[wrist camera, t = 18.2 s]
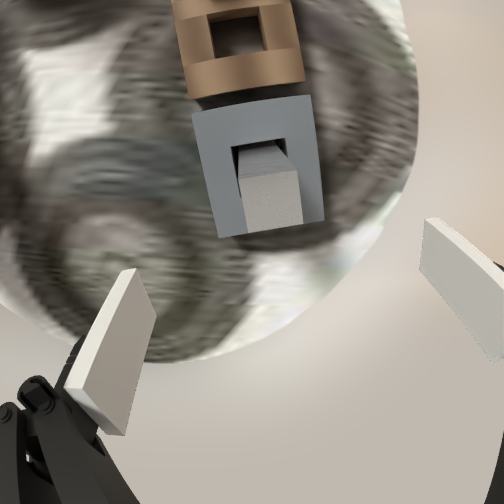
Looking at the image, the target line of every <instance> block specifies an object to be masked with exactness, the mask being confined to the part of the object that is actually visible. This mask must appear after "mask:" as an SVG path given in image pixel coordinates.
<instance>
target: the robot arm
mask: <svg viewBox="0 0 504 504" xmlns="http://www.w3.org/2000/svg"><path fill="white" fill-rule="evenodd" d="M419 270H420V271H421V272H422V274H423V275H424V276H425V277H426V278H427V279H428V281H429V282H430V283H431V284H432V285H433V286H434V288H435V289H436V290H437V291H438V293H439V294H440V295H441V296H442V297H443V299H444V300H445V301H446V302H447V304H448V305H449V306H450V307H451V309H452V310H453V311H454V312H455V314H456V315H457V316H458V317H459V319H460V320H461V321H462V323H463V324H464V325H465V327H466V328H467V329H468V331H469V332H470V333H471V335H472V336H473V337H474V339H475V340H476V341H477V343H478V344H479V346H480V347H481V349H482V350H483V351H484V353H485V354H486V356H487V357H488V359H489V360H490V362H491V363H492V364H493V363H495V362H497V361H499V360H501V359H502V358H504V267H503V266H501V265H499V264H497V263H495V262H492V261H491V260H490V259H489V258H487V257H486V256H485V255H484V254H483V253H482V252H481V251H479V250H478V249H477V248H476V247H475V246H473V245H472V244H471V243H470V242H469V241H467V240H466V239H465V238H464V237H462V236H461V235H460V234H459V233H457V232H456V231H455V230H454V229H452V228H451V227H450V226H448V225H447V224H446V223H444V222H443V221H442V220H441V219H439V218H438V217H434V218H428V219H425V220H424V232H423V243H422V251H421V260H420V267H419ZM156 317H157V316H156V313H155V311H154V309H153V307H152V304H151V302H150V300H149V297H148V295H147V292H146V290H145V288H144V285H143V283H142V280H141V278H140V275H139V273H138V270H137V268H135V269H129V270H123V271H121V273H120V275H119V277H118V278H117V280H116V282H115V284H114V286H113V287H112V289H111V291H110V293H109V295H108V296H107V298H106V300H105V302H104V304H103V306H102V308H101V310H100V311H99V313H98V315H97V317H96V319H95V321H94V323H93V325H92V327H91V329H90V331H89V333H88V335H83V336H82V337H81V338H80V339H79V340H78V342H77V343H76V344H75V345H74V347H73V349H72V351H71V353H70V357H68V359H67V361H66V365H65V366H64V368H63V370H62V372H61V374H60V376H59V379H58V381H57V383H56V385H55V387H54V389H53V387H52V386H51V385H50V384H49V383H48V382H47V380H46V379H45V378H44V377H42V376H40V375H38V376H33V377H30V378H28V379H27V380H26V381H25V382H24V383H23V384H22V385H21V387H20V388H19V391H18V394H17V399H18V400H19V402H20V403H21V404H22V405H23V406H24V407H25V408H26V409H25V410H20V409H19V408H18V407H17V406H16V405H15V404H14V403H12V402H6V403H4V404H3V405H1V406H0V504H140V503H139V501H138V500H137V499H136V497H135V496H134V494H133V493H132V491H131V490H130V488H129V486H128V485H127V483H126V482H125V480H124V479H123V477H122V475H121V474H120V472H119V470H118V469H117V467H116V465H115V464H114V462H113V460H112V459H111V457H110V455H109V453H108V451H107V450H106V448H105V446H104V444H103V442H102V441H101V439H100V437H99V436H98V435H97V434H96V432H97V429H98V426H99V427H100V428H101V429H102V430H103V431H104V432H105V433H106V434H108V435H120V436H125V433H126V428H127V424H128V419H129V415H130V411H131V407H132V403H133V399H134V395H135V391H136V387H137V383H138V379H139V375H140V372H141V368H142V365H143V361H144V357H145V354H146V350H147V347H148V343H149V340H150V337H151V333H152V330H153V327H154V323H155V320H156ZM26 454H27V455H29V462H28V461H27V460H26ZM484 504H504V433H503V438H502V443H501V448H500V452H499V456H498V460H497V464H496V468H495V472H494V475H493V478H492V482H491V485H490V488H489V491H488V494H487V497H486V500H485V503H484Z"/></svg>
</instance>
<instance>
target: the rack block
mask: <svg viewBox="0 0 504 504" xmlns="http://www.w3.org/2000/svg"><path fill="white" fill-rule="evenodd" d="M191 116H192V121H193V126H194V131H195V135H196V140H197V145H198V149H199V154H200V158H201V163H202V167H203V172H204V176H205V181H206V185H207V190H208V194H209V198H210V203H211V207H212V211H213V215H214V220H215V224H216V228H217V232H218V236H219V238H223V237H229V236H235V235H241V234H247V233H248V228H247V223H246V218H245V213H244V207H243V202H242V197H241V192H240V187H239V182H238V171H237V166H236V161H235V156H234V150H233V146H237V145H242V144H248V143H254V142H260V141H267V140H273V139H280V141H281V148H282V152H283V153H284V154H285V156H286V157H287V158H288V159H289V161H290V162H291V163H292V164H293V165H294V167H295V168H296V169H297V173H298V181H299V189H300V198H301V206H302V215H303V224H307V223H313V222H319V221H325V219H324V207H323V195H322V184H321V174H320V165H319V156H318V147H317V139H316V131H315V124H314V116H313V109H312V103H311V96H310V95H299V96H290V97H281V98H274V99H266V100H260V101H253V102H247V103H241V104H235V105H230V106H225V107H219V108H214V109H210V110H205V111H200V112H196V113H192V114H191ZM299 225H301V224H299ZM293 226H295V225H293ZM287 227H288V226H287ZM281 228H282V227H281ZM275 229H276V228H275ZM269 230H270V229H269ZM263 231H264V230H263ZM257 232H258V231H257ZM251 233H252V232H251Z"/></svg>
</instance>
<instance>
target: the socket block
mask: <svg viewBox="0 0 504 504" xmlns="http://www.w3.org/2000/svg"><path fill="white" fill-rule="evenodd" d="M171 4H172V9H173V15H174V21H175V26H176V32H177V37H178V43H179V48H180V53H181V58H182V64H183V69H184V74H185V79H186V84H187V89H188V94H189V99H190V100H198V99H202V98H207V97H211V96H216V95H221V94H227V93H232V92H238V91H243V90H250V89H256V88H263V87H270V86H278V85H286V84H296V83H301V82H304V81H306V78H305V72H304V67H303V61H302V55H301V50H300V45H299V40H298V35H297V30H296V25H295V20H294V15H293V11H292V6H291V2H290V0H171ZM251 16H257V18H258V23H259V28H260V33H261V38H262V43H263V48H264V51H261V52H253V53H247V54H240V55H234V56H229V57H223V58H218V59H217V58H216V52H215V47H214V42H213V37H212V32H211V26H210V23H214V22H220V21H225V20H231V19H237V18H244V17H251Z"/></svg>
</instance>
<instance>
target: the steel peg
mask: <svg viewBox="0 0 504 504" xmlns="http://www.w3.org/2000/svg"><path fill="white" fill-rule="evenodd" d="M238 182H239V187H240V192H241V197H242V202H243V207H244V213H245V218H246V223H247V228H248V233H251V232H257V231H263V230H269V229H275V228H281V227H287V226H293V225H299V224H303V215H302V206H301V198H300V189H299V181H298V173H297V169H296V168H295V167H294V165H293V164H292V163H291V162H290V161H289V159H288V158H287V157H286V156H285V154H284V153H283V152H282V151H281V150H280V148H279V147H278V146H277V145H276V144H275V142H274V141H273V140H272V141H265V142H259V143H253V144H247V145H241V146H239V164H238Z"/></svg>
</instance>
